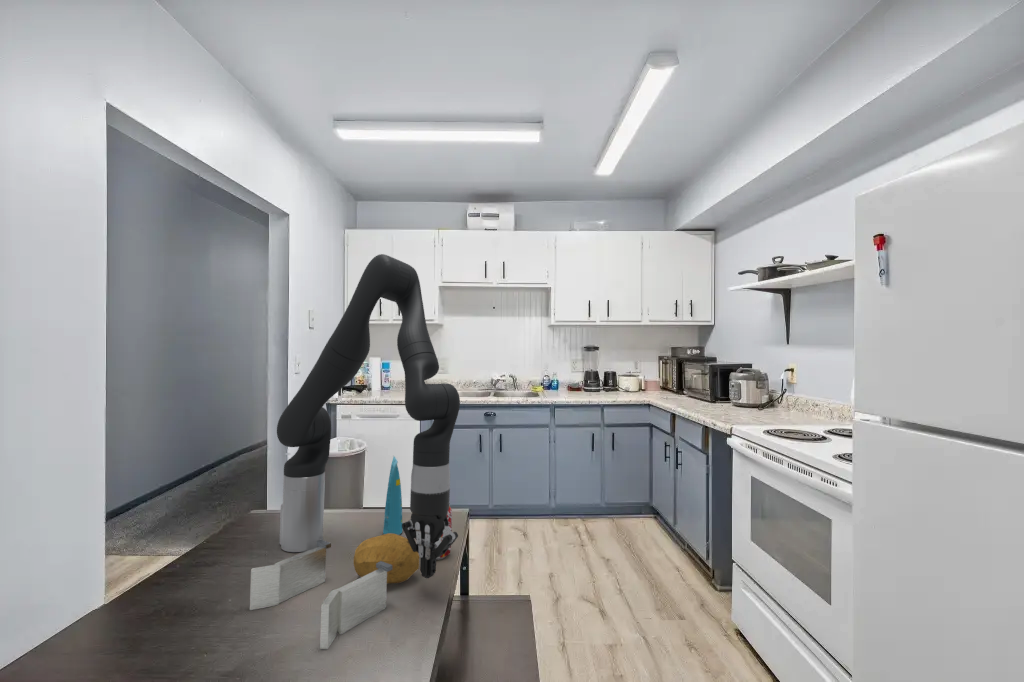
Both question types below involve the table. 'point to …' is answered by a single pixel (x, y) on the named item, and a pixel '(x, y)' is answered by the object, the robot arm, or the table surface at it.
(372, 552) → the potato
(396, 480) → the tube
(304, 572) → the channel
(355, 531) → the table surface
